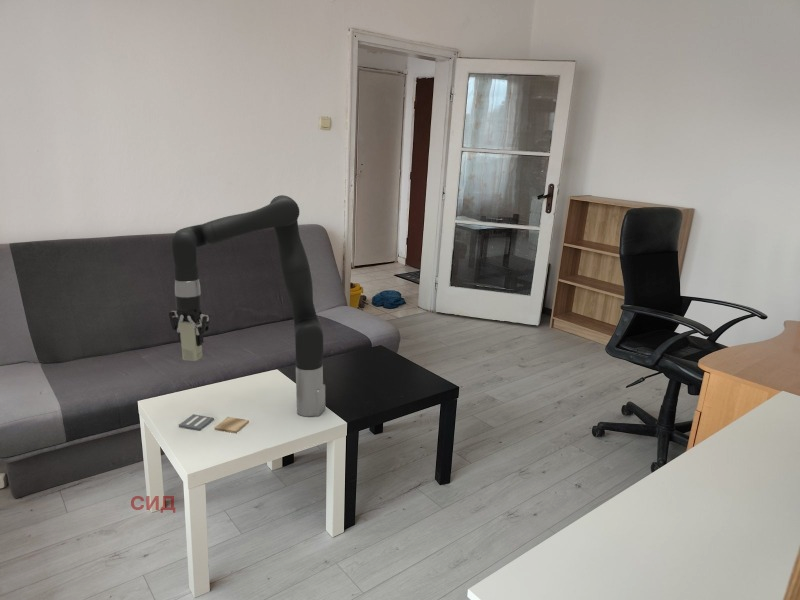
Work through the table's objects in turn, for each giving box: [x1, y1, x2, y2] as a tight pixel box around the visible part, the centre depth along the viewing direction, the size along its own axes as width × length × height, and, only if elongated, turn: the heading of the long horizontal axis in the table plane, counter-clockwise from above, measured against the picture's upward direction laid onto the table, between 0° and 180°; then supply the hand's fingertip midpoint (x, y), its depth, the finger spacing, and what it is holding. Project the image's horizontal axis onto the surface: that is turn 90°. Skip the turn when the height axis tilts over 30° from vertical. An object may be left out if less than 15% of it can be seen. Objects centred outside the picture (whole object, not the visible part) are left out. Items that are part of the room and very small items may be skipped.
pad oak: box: [213, 416, 250, 434], centre depth 185 cm, size 8×8×1 cm
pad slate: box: [178, 414, 215, 432], centre depth 186 cm, size 8×8×1 cm
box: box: [179, 321, 204, 362], centre depth 179 cm, size 5×4×13 cm
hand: (191, 343), depth 180 cm, fingers closed on box, 5 cm apart
